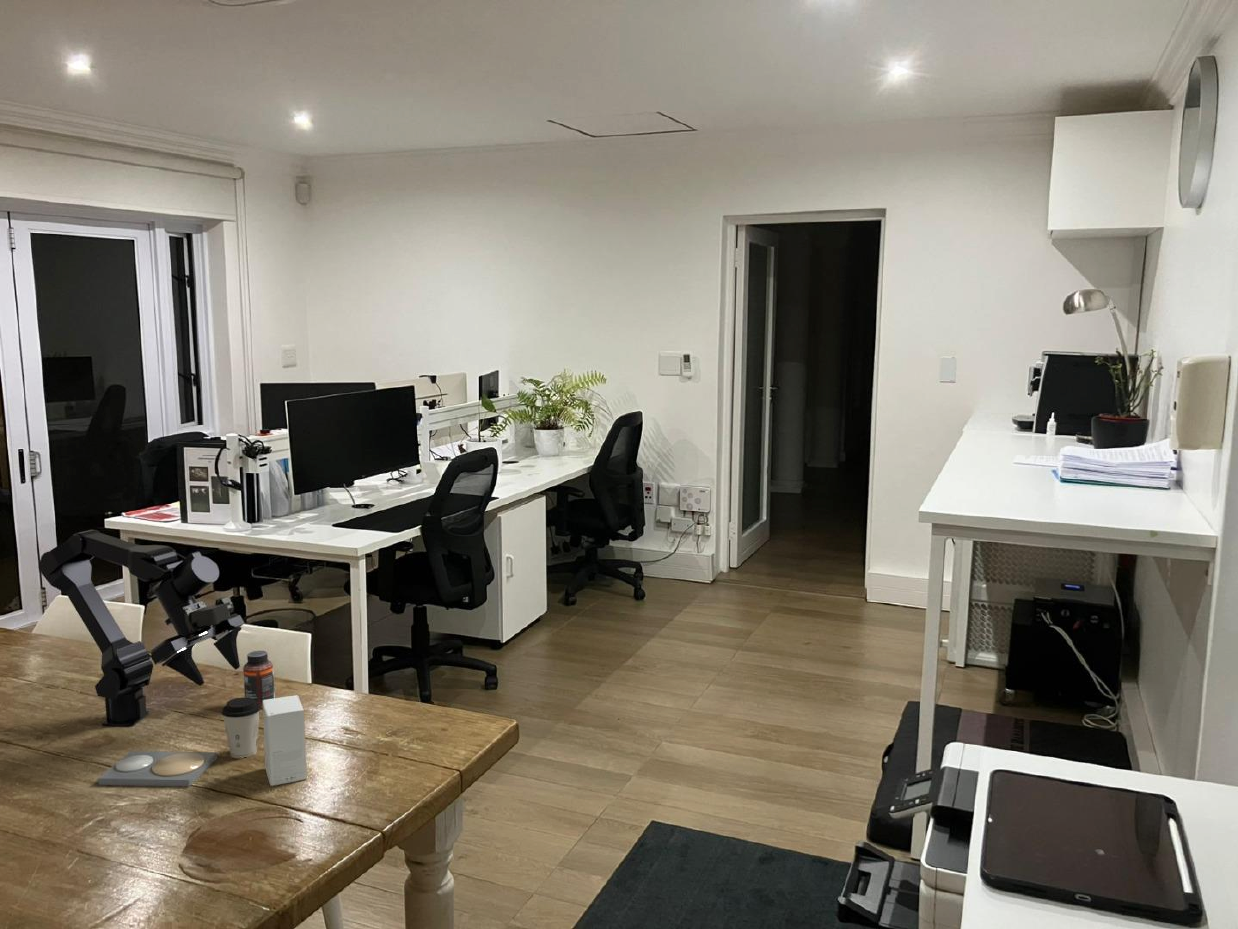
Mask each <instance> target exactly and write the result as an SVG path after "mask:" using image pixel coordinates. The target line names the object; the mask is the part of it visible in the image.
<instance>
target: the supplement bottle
mask: <svg viewBox="0 0 1238 929" xmlns="http://www.w3.org/2000/svg"><path fill="white" fill-rule="evenodd" d="M246 657H247V659H246V660H247V662H246V663H245V664H244V665H243V668H242V669H243V671H242V672H243V675H242V676H243V688H244V698H247V697H248V698H253V699H254V700H255V701H256V702H258V703H259V704H260V705H261V709H263V700H267V699H274V698H275V697H276V695H275V678H274V676H275V675H274V666H273V662H272V661H270V660H269V659H268V658H269V657H268V652H267V651H266V650H253V651H251V652H249V653H247V655H246Z"/></svg>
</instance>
